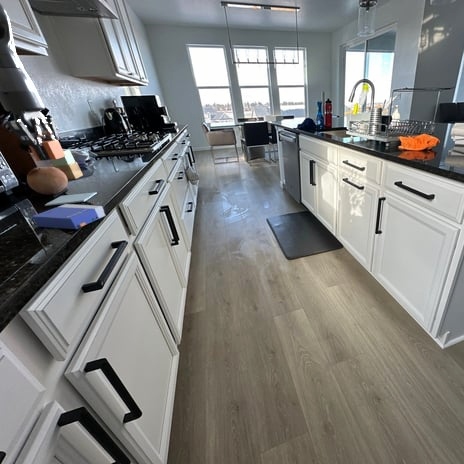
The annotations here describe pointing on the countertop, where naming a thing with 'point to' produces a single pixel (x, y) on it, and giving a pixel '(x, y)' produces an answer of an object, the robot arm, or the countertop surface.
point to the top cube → (51, 150)
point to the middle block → (64, 159)
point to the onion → (47, 180)
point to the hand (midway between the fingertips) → (51, 158)
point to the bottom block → (70, 170)
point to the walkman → (69, 216)
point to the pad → (71, 198)
